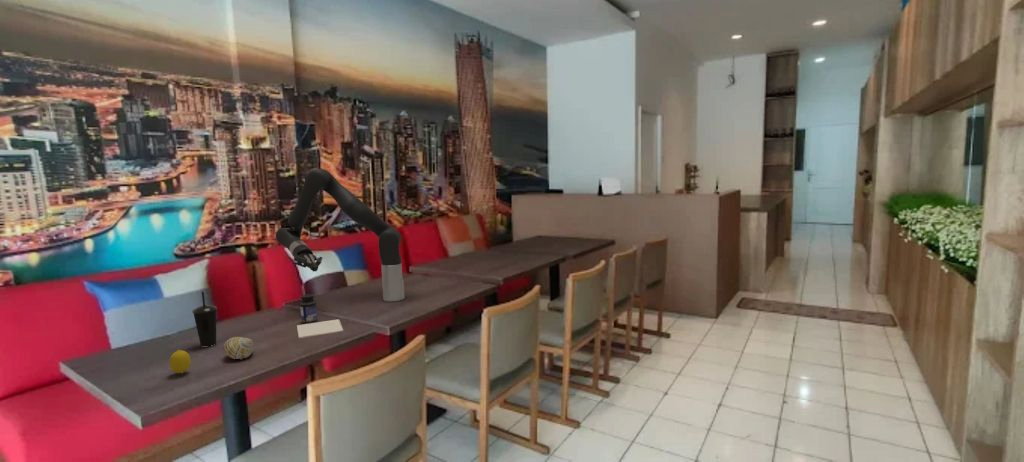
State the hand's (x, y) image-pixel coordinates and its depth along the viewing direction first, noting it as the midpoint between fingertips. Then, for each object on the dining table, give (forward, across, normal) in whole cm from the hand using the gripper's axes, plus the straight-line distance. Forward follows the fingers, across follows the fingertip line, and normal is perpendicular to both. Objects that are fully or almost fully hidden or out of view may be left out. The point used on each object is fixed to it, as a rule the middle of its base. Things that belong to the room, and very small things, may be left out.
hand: (315, 269), depth 214 cm
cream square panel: (+23, -5, +14) cm, 28 cm away
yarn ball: (+31, -35, +16) cm, 50 cm away
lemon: (+34, -53, +17) cm, 65 cm away
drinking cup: (+12, -40, +23) cm, 48 cm away
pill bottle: (+12, -4, +18) cm, 22 cm away
